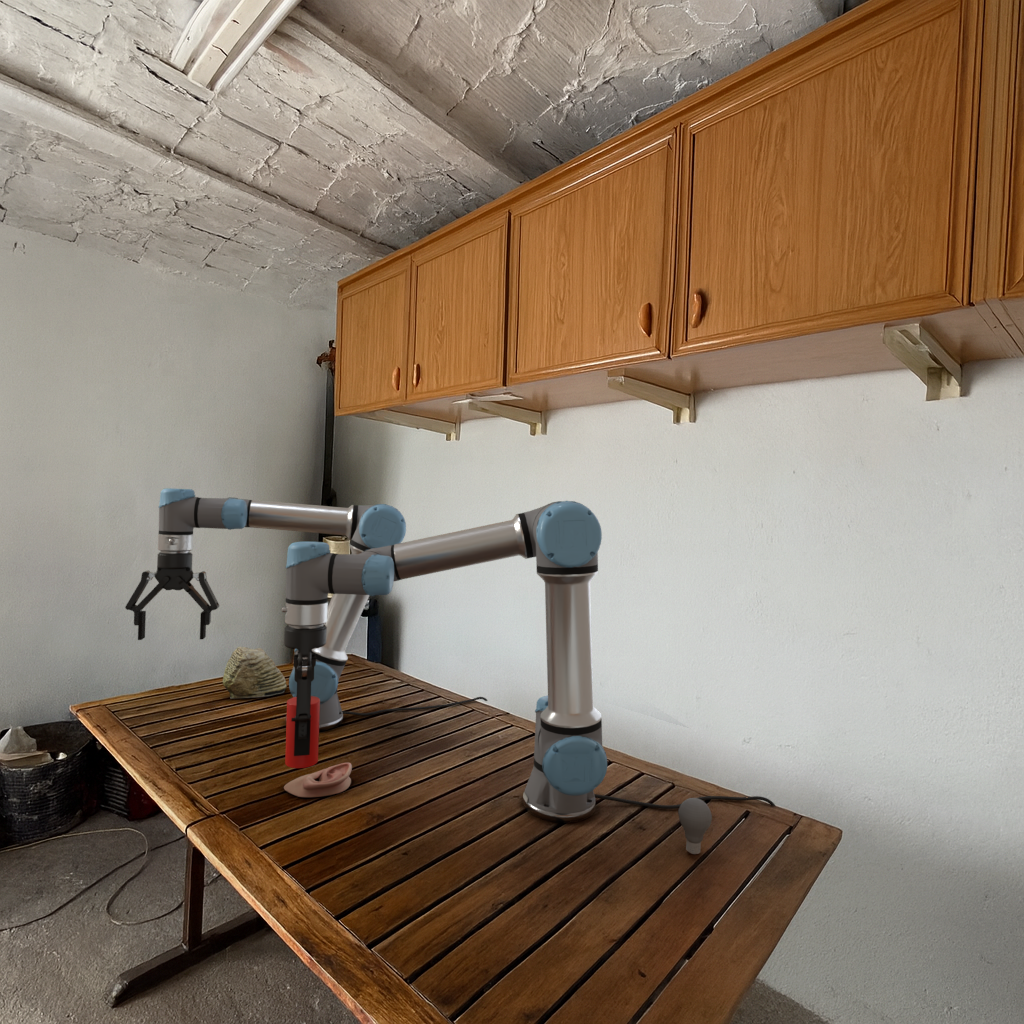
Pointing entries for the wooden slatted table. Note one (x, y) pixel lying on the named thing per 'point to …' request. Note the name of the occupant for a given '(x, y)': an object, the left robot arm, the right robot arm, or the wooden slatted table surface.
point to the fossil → (252, 674)
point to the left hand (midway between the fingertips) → (172, 638)
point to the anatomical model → (321, 782)
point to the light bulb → (694, 822)
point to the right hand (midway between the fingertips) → (302, 747)
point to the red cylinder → (290, 735)
